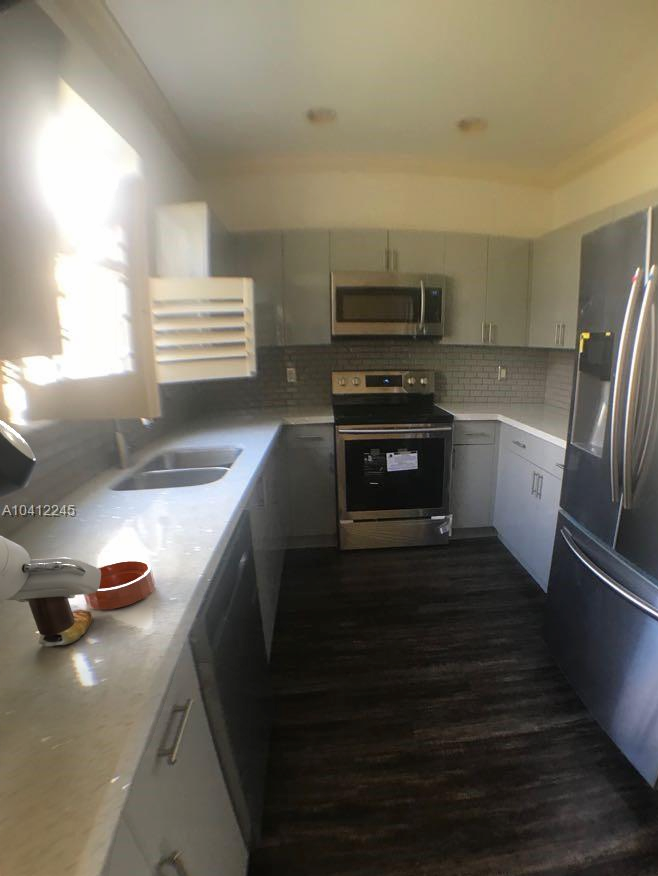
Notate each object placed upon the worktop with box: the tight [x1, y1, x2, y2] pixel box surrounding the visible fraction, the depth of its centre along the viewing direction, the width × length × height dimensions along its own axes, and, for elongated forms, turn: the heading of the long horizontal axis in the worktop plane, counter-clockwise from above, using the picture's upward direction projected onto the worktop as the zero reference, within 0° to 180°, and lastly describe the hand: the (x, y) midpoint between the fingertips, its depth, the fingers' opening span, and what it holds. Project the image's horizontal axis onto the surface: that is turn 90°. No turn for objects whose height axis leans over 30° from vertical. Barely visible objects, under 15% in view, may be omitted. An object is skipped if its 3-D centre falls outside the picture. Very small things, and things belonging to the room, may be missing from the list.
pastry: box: [37, 609, 93, 648], centre depth 85 cm, size 9×7×4 cm
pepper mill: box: [27, 596, 75, 635], centre depth 71 cm, size 5×5×11 cm
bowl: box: [83, 559, 156, 610], centre depth 97 cm, size 13×13×5 cm
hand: (49, 595), depth 72 cm, fingers closed on pepper mill, 5 cm apart
